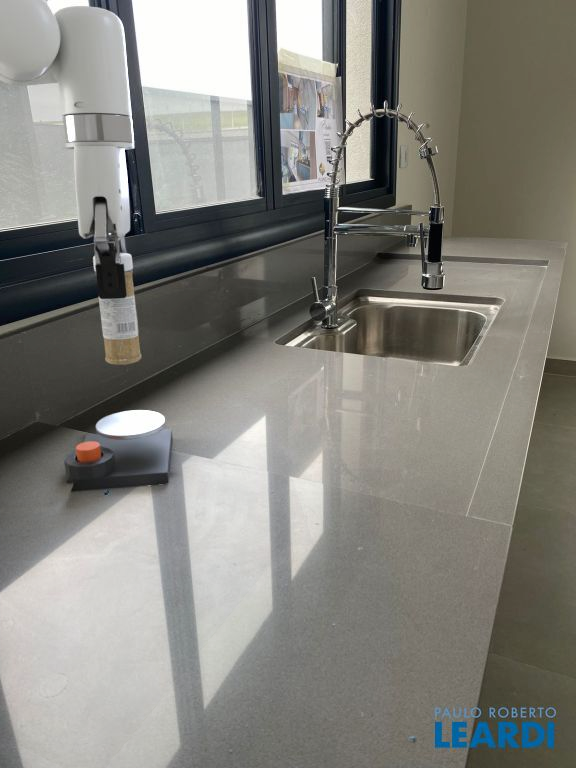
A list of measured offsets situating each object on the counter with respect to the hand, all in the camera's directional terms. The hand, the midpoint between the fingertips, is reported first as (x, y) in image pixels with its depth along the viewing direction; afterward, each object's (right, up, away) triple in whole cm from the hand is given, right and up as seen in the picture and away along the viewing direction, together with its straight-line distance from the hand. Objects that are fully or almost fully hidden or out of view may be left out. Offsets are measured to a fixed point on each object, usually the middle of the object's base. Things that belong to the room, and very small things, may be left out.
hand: (115, 292), depth 75 cm
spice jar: (0, -9, +3) cm, 9 cm away
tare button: (-3, -20, 0) cm, 21 cm away
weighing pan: (0, -18, +7) cm, 19 cm away
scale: (0, -22, +6) cm, 23 cm away
